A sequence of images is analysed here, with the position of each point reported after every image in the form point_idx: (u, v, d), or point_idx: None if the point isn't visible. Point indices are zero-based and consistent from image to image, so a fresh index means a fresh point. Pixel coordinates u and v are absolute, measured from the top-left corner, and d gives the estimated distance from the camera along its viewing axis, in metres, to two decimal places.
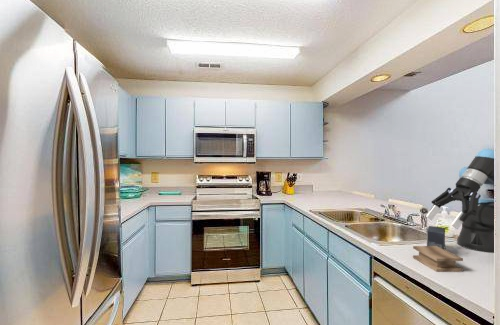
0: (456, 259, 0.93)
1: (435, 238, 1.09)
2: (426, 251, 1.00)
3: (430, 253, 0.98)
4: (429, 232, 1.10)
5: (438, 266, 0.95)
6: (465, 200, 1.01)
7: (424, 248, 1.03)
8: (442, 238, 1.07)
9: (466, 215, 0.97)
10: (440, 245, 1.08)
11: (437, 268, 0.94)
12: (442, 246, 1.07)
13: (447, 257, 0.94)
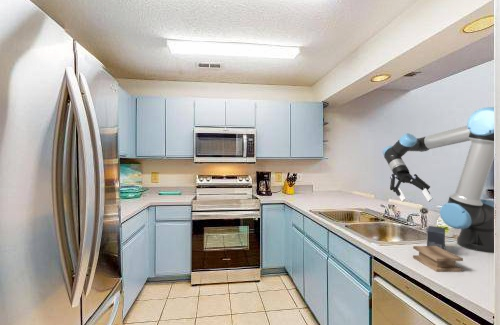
0: (456, 259, 0.93)
1: (435, 238, 1.09)
2: (426, 251, 1.00)
3: (430, 253, 0.98)
4: (429, 232, 1.10)
5: (438, 266, 0.95)
6: None
7: (424, 248, 1.03)
8: (442, 238, 1.07)
9: (395, 190, 1.29)
10: (440, 245, 1.08)
11: (437, 268, 0.94)
12: (442, 246, 1.07)
13: (447, 257, 0.94)
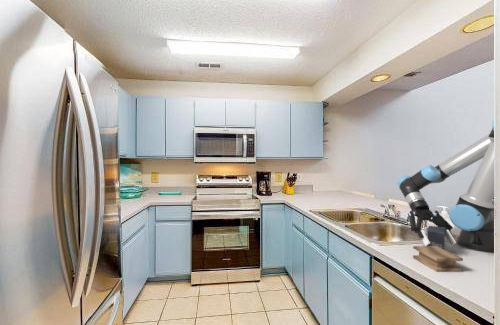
0: (456, 259, 0.93)
1: (435, 238, 1.09)
2: (426, 251, 1.00)
3: (430, 253, 0.98)
4: (429, 232, 1.10)
5: (438, 266, 0.95)
6: (417, 220, 1.19)
7: (424, 248, 1.03)
8: (442, 238, 1.07)
9: (417, 232, 1.14)
10: (440, 245, 1.08)
11: (437, 268, 0.94)
12: (442, 246, 1.07)
13: (447, 257, 0.94)
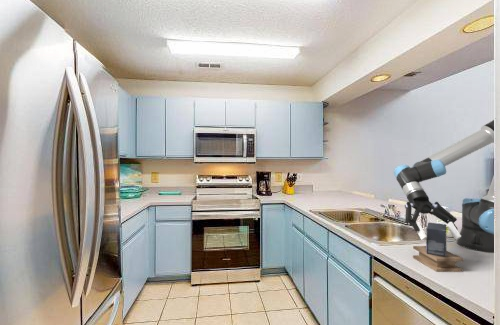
0: (456, 259, 0.93)
1: (436, 237, 0.96)
2: (426, 251, 1.00)
3: None
4: (429, 229, 0.97)
5: (438, 266, 0.95)
6: (414, 213, 1.06)
7: (424, 248, 1.03)
8: (444, 236, 0.94)
9: (412, 224, 1.01)
10: (441, 244, 0.95)
11: (437, 268, 0.94)
12: (444, 245, 0.94)
13: (447, 257, 0.94)
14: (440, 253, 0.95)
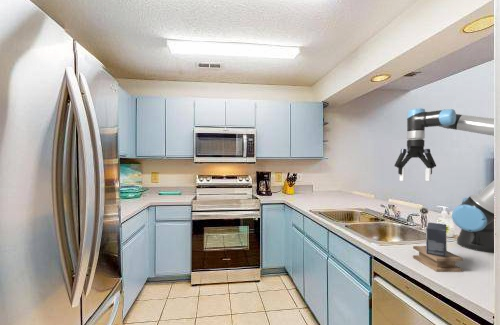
0: (456, 259, 0.93)
1: (436, 237, 0.96)
2: (426, 251, 1.00)
3: None
4: (429, 229, 0.97)
5: (438, 266, 0.95)
6: (405, 157, 1.29)
7: (424, 248, 1.03)
8: (444, 236, 0.94)
9: (399, 169, 1.28)
10: (441, 244, 0.95)
11: (437, 268, 0.94)
12: (444, 245, 0.94)
13: (447, 257, 0.94)
14: (440, 253, 0.95)
